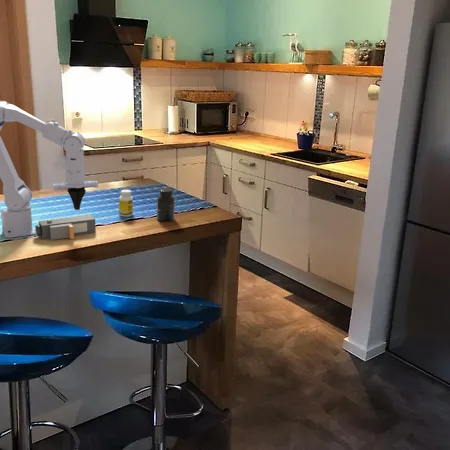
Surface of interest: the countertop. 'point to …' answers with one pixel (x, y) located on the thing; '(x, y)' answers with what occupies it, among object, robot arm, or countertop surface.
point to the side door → (62, 231)
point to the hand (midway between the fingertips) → (76, 209)
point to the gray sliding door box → (79, 223)
